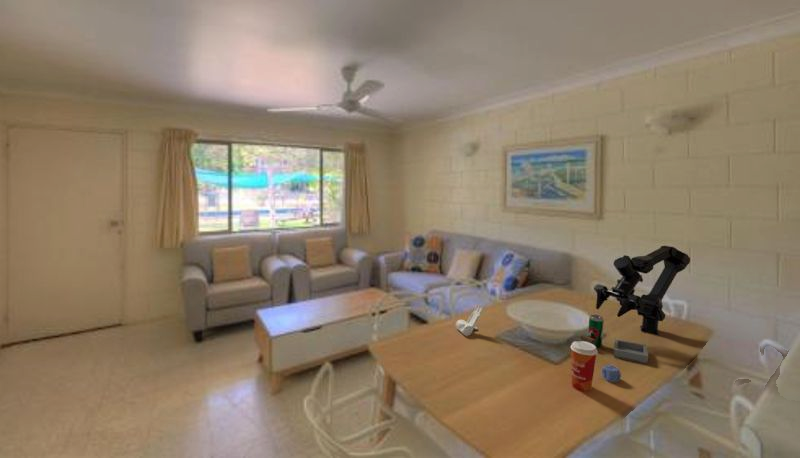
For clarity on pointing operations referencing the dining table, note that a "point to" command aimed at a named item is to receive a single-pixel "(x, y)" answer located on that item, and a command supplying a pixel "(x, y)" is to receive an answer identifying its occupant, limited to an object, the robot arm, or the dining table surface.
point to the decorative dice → (611, 373)
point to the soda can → (596, 329)
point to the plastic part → (469, 322)
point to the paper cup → (583, 364)
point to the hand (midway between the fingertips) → (607, 312)
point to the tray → (630, 351)
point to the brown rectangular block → (587, 339)
